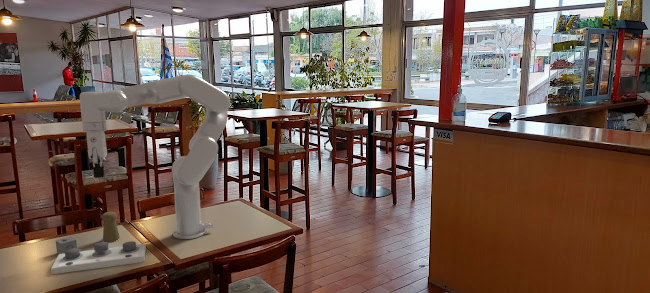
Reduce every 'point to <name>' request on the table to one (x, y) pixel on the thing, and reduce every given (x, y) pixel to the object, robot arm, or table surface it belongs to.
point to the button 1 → (72, 253)
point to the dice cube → (65, 244)
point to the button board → (99, 259)
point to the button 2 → (129, 246)
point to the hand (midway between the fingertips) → (99, 176)
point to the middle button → (101, 247)
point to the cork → (110, 227)
